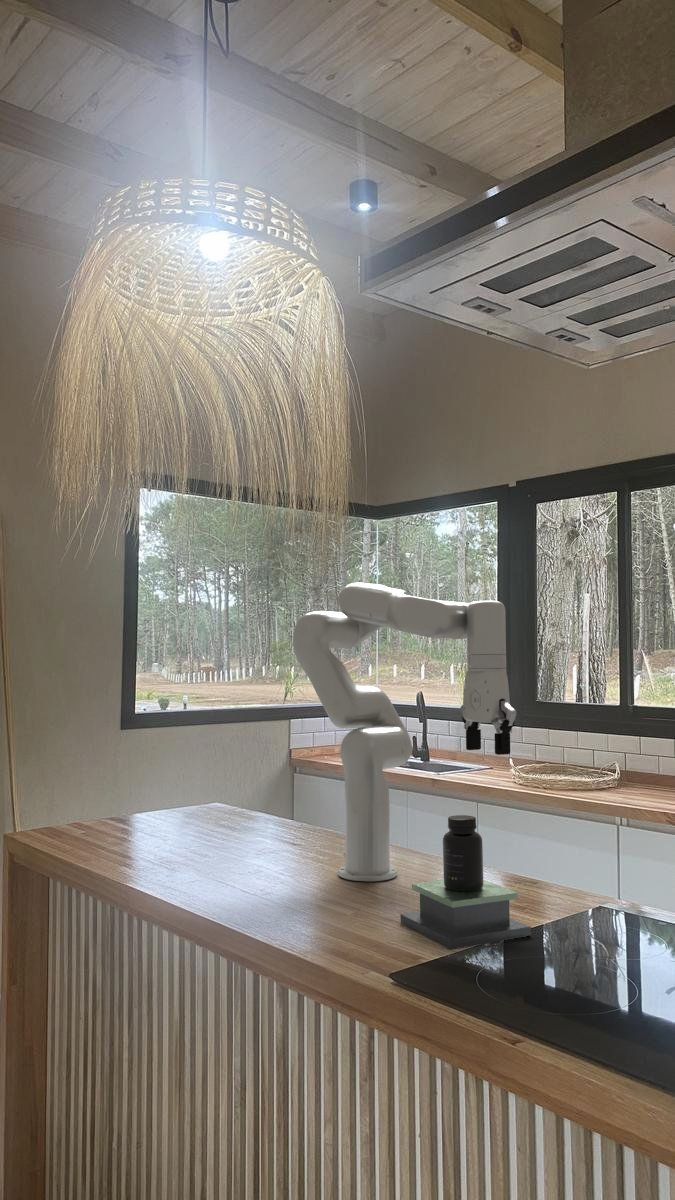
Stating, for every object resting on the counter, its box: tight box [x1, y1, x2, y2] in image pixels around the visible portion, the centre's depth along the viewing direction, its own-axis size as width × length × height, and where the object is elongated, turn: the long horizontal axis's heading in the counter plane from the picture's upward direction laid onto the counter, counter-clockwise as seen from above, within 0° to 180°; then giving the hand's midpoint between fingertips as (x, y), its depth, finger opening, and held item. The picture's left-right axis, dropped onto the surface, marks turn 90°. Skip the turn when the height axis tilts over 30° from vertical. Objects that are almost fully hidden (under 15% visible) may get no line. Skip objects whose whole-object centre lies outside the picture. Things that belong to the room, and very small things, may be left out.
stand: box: [400, 879, 532, 950], centre depth 155 cm, size 16×16×7 cm
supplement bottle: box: [442, 814, 484, 892], centre depth 156 cm, size 7×7×12 cm
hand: (487, 751), depth 176 cm, fingers open, 9 cm apart
